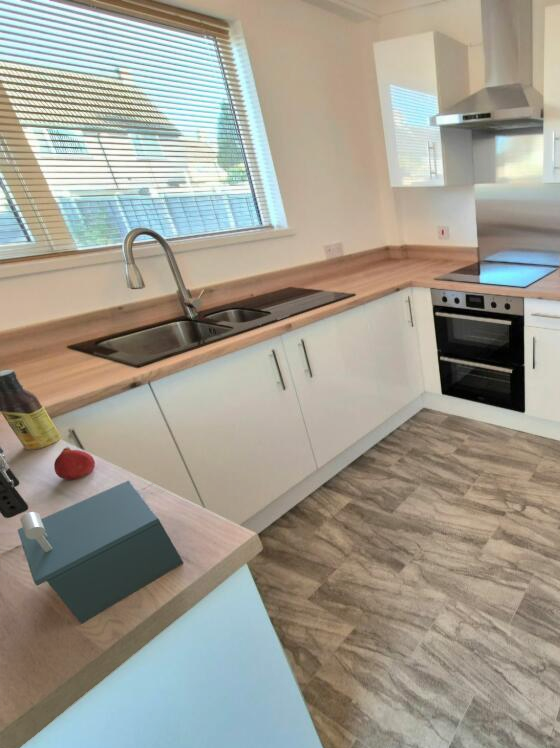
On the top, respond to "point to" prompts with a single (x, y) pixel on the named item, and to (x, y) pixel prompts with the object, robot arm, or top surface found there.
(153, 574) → the chest
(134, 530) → the lid
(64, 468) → the onion
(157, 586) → the top surface
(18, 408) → the sauce bottle
